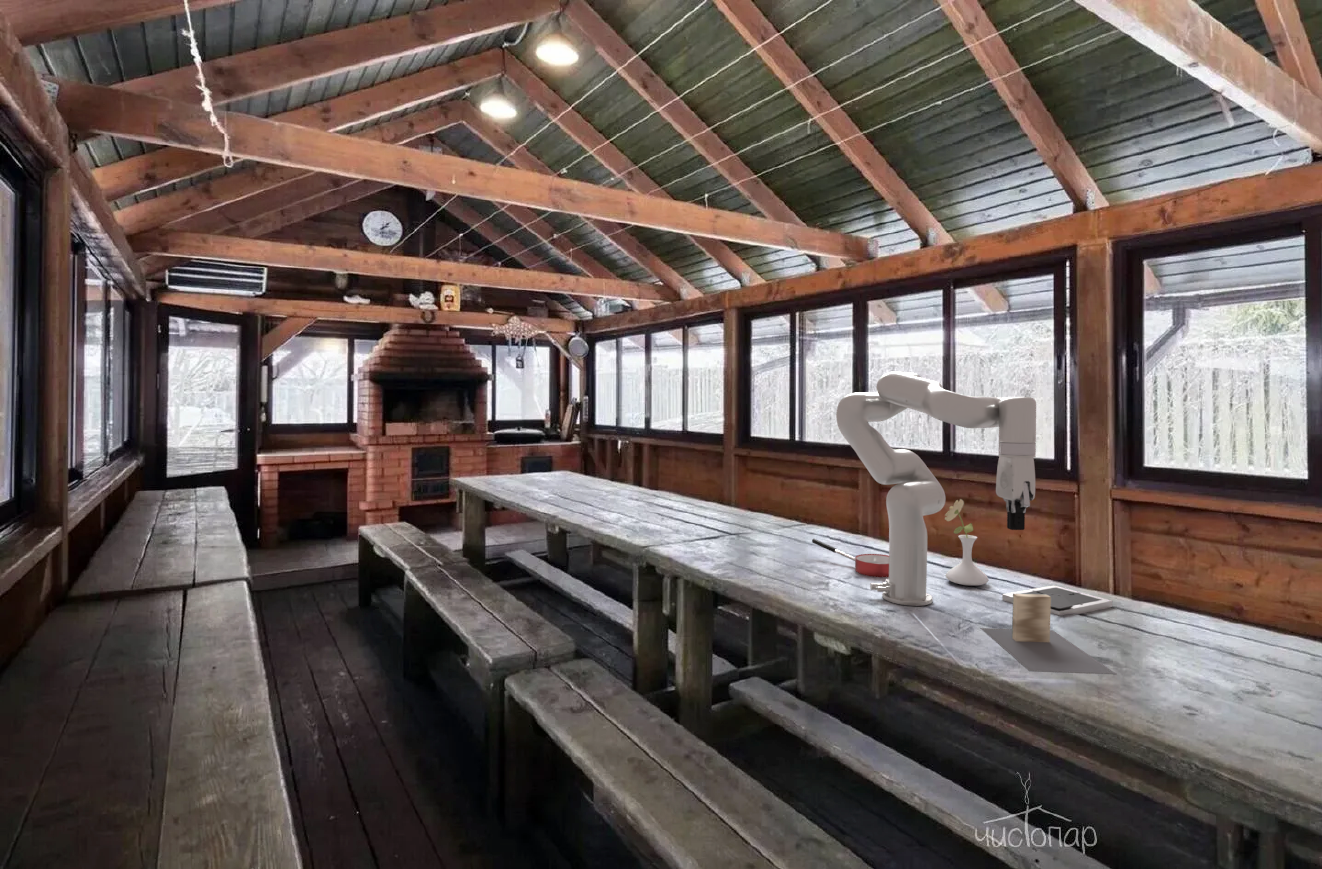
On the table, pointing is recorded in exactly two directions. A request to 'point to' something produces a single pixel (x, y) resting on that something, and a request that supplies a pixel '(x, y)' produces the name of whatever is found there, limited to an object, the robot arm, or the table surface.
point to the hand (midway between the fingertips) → (1015, 529)
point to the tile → (1031, 617)
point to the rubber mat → (1047, 654)
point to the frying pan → (864, 562)
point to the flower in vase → (964, 553)
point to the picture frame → (1066, 600)
